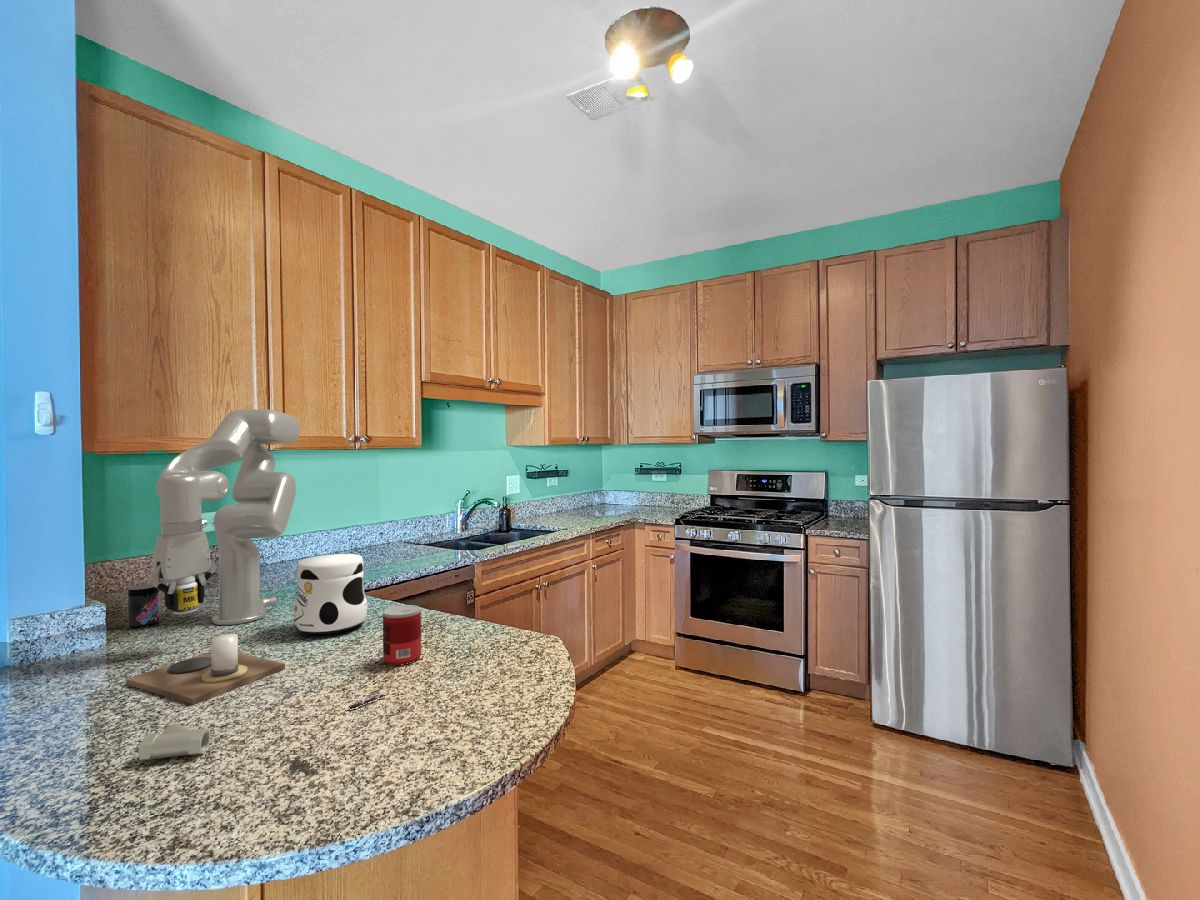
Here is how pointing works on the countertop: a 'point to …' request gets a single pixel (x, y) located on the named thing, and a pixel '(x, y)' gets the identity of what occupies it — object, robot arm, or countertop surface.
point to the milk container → (330, 594)
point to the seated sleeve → (224, 655)
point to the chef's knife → (365, 701)
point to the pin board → (202, 677)
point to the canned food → (401, 634)
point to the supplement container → (143, 606)
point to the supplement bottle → (186, 595)
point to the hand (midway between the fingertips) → (185, 605)
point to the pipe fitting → (174, 743)
